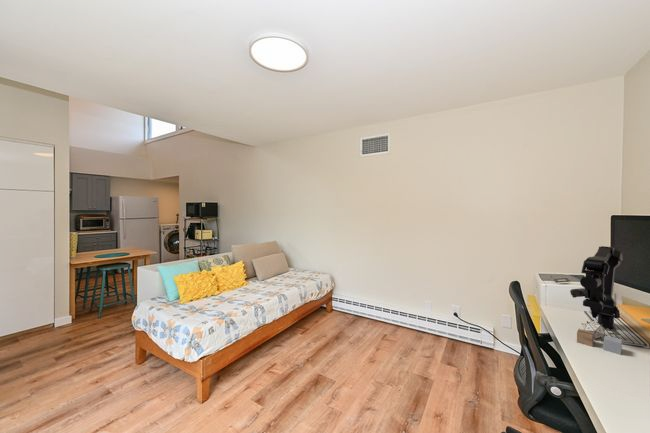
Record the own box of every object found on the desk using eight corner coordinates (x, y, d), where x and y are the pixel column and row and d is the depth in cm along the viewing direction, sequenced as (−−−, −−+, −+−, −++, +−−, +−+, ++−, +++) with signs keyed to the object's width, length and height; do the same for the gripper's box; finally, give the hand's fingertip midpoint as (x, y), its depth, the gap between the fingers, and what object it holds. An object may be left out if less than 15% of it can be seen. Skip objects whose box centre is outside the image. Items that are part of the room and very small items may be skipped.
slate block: (604, 346, 117) (604, 335, 117) (621, 350, 113) (621, 339, 113) (603, 350, 114) (603, 339, 114) (620, 355, 110) (621, 343, 110)
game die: (599, 347, 123) (617, 336, 117) (580, 339, 125) (597, 328, 119) (591, 330, 130) (608, 319, 124) (572, 323, 132) (588, 312, 125)
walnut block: (578, 338, 124) (578, 328, 124) (593, 343, 120) (593, 332, 120) (576, 342, 121) (577, 331, 121) (592, 346, 117) (592, 336, 117)
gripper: (575, 278, 136) (574, 307, 136) (568, 285, 124) (567, 317, 124) (606, 282, 127) (605, 314, 128) (602, 291, 115) (601, 325, 116)
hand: (594, 317), depth 124 cm, fingers closed
